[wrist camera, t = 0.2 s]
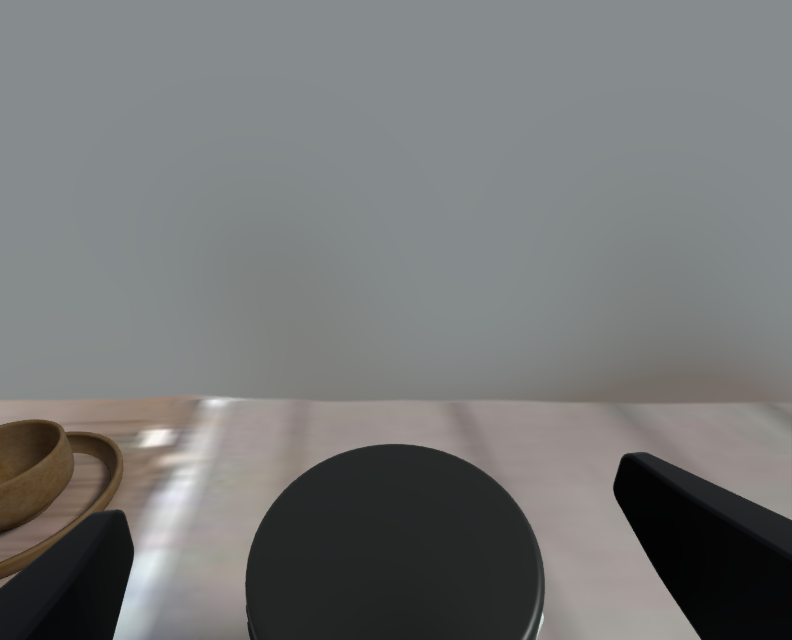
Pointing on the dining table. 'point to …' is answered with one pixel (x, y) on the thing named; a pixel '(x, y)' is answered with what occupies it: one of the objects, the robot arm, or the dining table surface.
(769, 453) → the dining table surface
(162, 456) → the dining table surface
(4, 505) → the place setting
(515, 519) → the jar
